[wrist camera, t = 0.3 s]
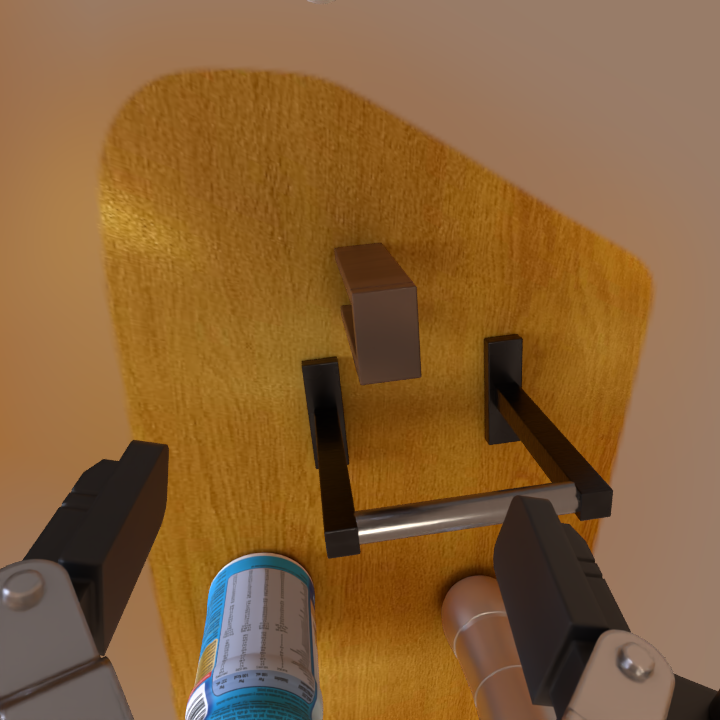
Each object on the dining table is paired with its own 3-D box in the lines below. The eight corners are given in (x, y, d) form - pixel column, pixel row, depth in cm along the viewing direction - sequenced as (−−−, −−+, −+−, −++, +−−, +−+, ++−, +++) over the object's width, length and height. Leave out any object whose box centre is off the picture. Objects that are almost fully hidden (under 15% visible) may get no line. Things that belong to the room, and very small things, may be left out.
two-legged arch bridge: (334, 247, 36) (351, 293, 26) (381, 242, 36) (417, 286, 26) (341, 317, 38) (360, 385, 28) (386, 311, 38) (421, 378, 28)
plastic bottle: (500, 553, 47) (637, 829, 28) (517, 611, 49) (653, 898, 31) (425, 579, 47) (514, 870, 29) (446, 635, 50) (540, 936, 31)
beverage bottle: (288, 531, 44) (288, 825, 25) (332, 606, 47) (360, 916, 28) (188, 572, 44) (115, 891, 26) (238, 644, 47) (205, 974, 29)
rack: (301, 360, 39) (307, 476, 26) (517, 333, 40) (627, 431, 27) (315, 462, 42) (327, 611, 29) (515, 434, 43) (613, 566, 30)
